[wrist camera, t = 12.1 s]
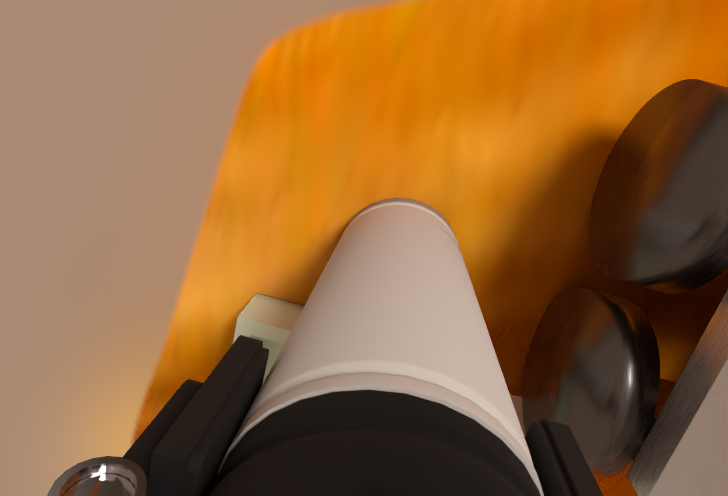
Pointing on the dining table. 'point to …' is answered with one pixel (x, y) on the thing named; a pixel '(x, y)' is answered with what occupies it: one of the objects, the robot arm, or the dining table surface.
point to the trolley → (629, 323)
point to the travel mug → (385, 379)
